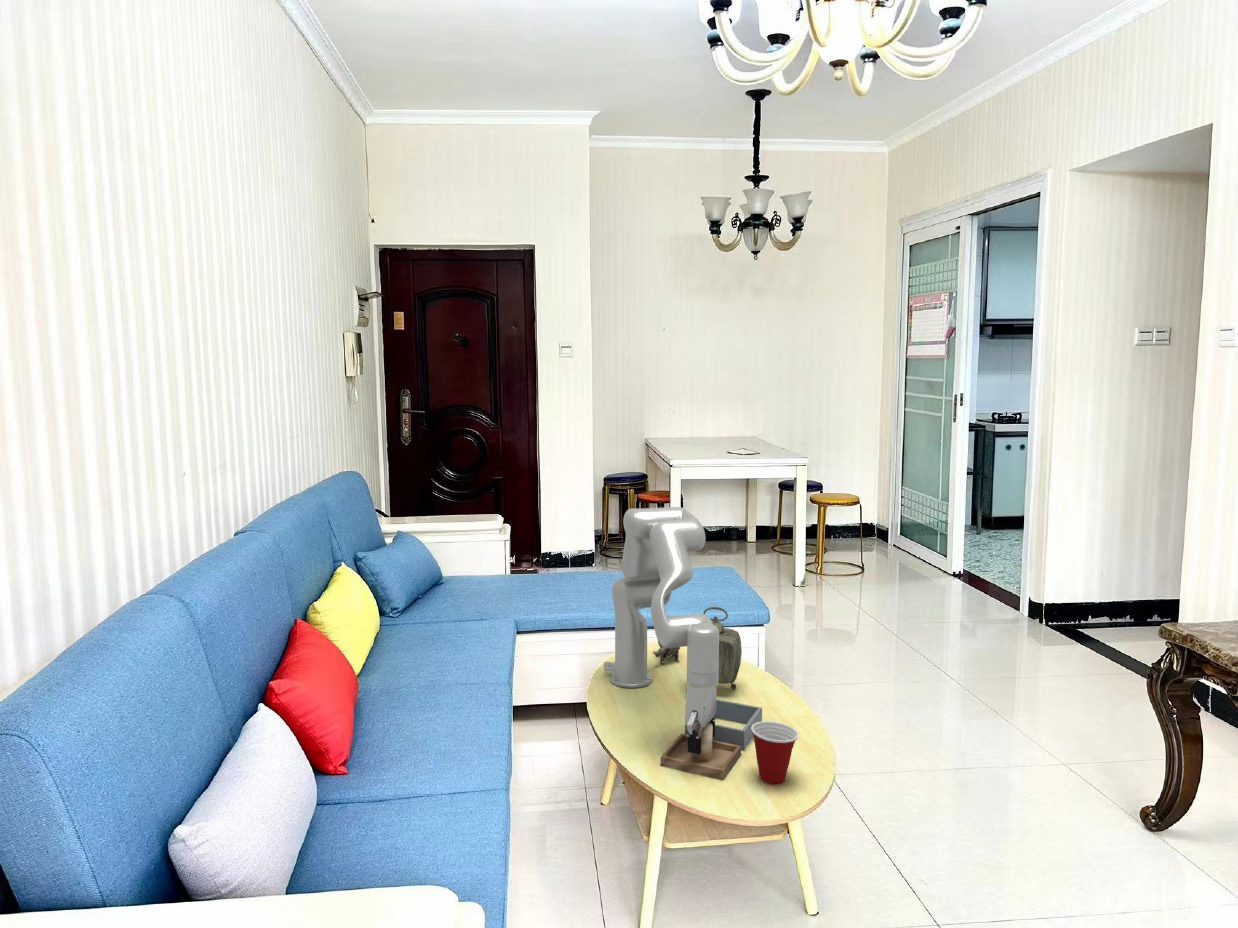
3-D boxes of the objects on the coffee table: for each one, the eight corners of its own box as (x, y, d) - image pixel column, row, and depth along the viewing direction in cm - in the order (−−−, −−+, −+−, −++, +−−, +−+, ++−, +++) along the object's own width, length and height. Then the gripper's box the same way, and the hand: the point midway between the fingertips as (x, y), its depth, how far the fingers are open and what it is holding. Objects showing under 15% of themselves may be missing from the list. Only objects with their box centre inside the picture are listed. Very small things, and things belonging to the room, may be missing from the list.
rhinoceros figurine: (684, 641, 281) (678, 614, 270) (683, 678, 271) (678, 650, 261) (660, 642, 282) (654, 615, 272) (659, 678, 272) (652, 651, 262)
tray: (660, 765, 203) (660, 756, 202) (681, 742, 215) (681, 733, 214) (723, 780, 196) (723, 770, 196) (741, 754, 208) (741, 746, 208)
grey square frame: (684, 738, 217) (684, 719, 216) (705, 714, 231) (705, 697, 230) (744, 750, 210) (744, 731, 210) (761, 725, 224) (762, 707, 224)
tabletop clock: (740, 687, 249) (742, 604, 246) (737, 700, 241) (739, 614, 237) (691, 682, 253) (692, 601, 249) (686, 694, 244) (687, 610, 241)
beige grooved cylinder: (687, 759, 204) (688, 727, 203) (695, 750, 209) (695, 719, 207) (707, 763, 202) (708, 731, 201) (714, 754, 206) (715, 723, 205)
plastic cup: (806, 786, 193) (807, 736, 192) (762, 793, 190) (763, 742, 188) (783, 764, 203) (785, 716, 202) (742, 770, 200) (743, 722, 199)
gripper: (700, 661, 212) (699, 726, 214) (674, 686, 196) (673, 756, 199) (729, 666, 209) (727, 732, 211) (705, 691, 193) (704, 763, 195)
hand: (701, 744), depth 205 cm, fingers open, 9 cm apart
